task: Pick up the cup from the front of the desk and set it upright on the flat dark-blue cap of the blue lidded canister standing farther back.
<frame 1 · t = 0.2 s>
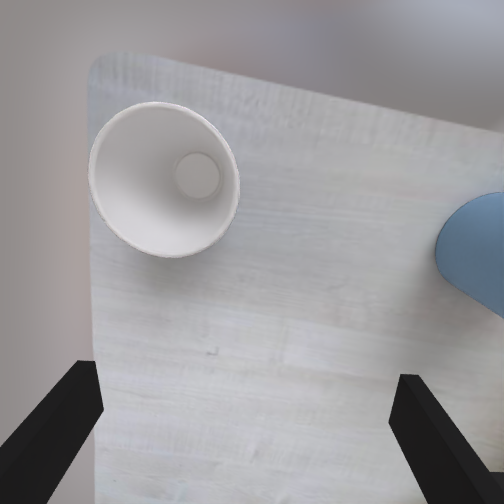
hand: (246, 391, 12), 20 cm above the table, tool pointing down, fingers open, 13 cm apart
blue lidded canister: (488, 244, 30), on the table
cup: (198, 176, 29), on the table
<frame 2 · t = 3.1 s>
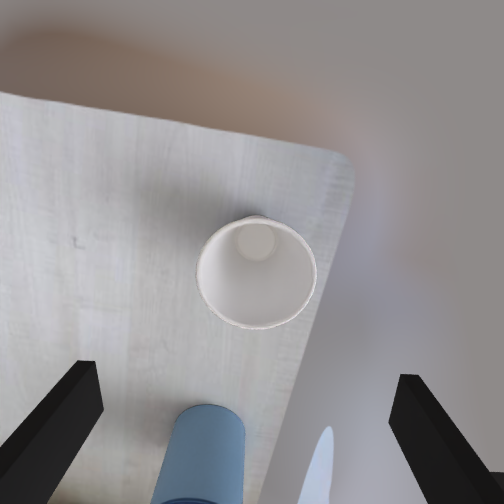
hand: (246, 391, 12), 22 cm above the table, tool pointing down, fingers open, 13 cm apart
blue lidded canister: (209, 431, 43), on the table
cup: (256, 239, 33), on the table
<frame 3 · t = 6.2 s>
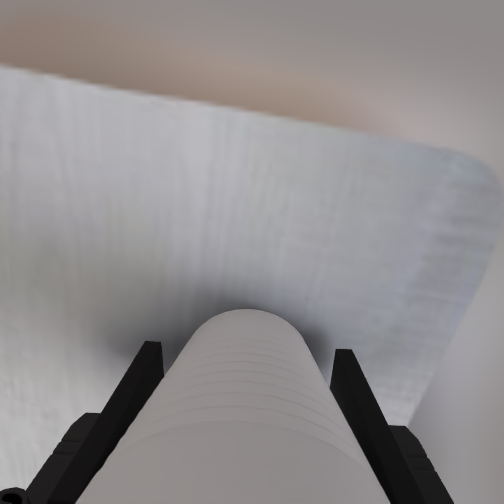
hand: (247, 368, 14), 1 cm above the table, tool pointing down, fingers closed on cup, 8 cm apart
cup: (247, 355, 15), on the table, touching gripper
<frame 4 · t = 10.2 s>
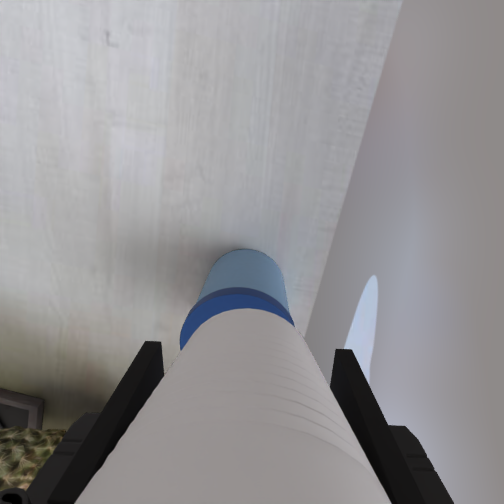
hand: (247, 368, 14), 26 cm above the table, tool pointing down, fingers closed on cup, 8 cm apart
blue lidded canister: (245, 284, 41), on the table
potted plant: (119, 408, 50), on the table
cup: (248, 354, 15), point 25 cm above the table, touching gripper
picture frame: (5, 425, 52), on the table
when the fingers open (15 cm above the table, at t = 14.3 s): cup stays where it is, resting on blue lidded canister.
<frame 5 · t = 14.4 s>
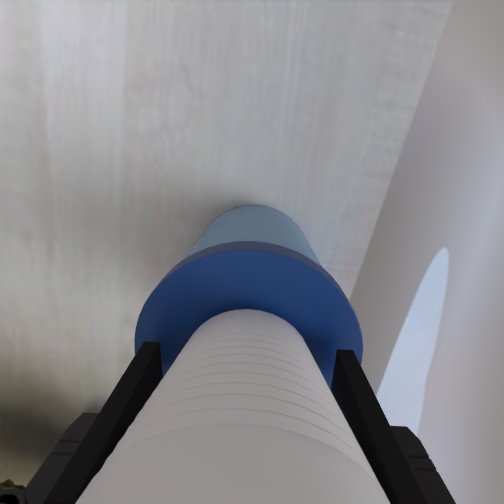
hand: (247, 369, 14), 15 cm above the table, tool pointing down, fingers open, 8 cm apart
blue lidded canister: (253, 261, 28), on the table
cup: (247, 355, 14), point 14 cm above the table, touching blue lidded canister
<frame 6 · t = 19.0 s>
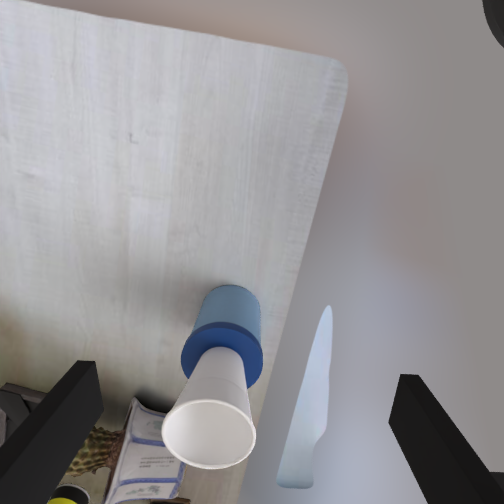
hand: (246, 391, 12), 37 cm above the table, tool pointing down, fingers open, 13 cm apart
blue lidded canister: (231, 311, 53), on the table
potted plant: (130, 407, 61), on the table
cup: (221, 362, 40), point 14 cm above the table, touching blue lidded canister
figurine: (178, 502, 71), on the table
flashlight: (72, 494, 71), on the table
picture frame: (35, 420, 63), on the table
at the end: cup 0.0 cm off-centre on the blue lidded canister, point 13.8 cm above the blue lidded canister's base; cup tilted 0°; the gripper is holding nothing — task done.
